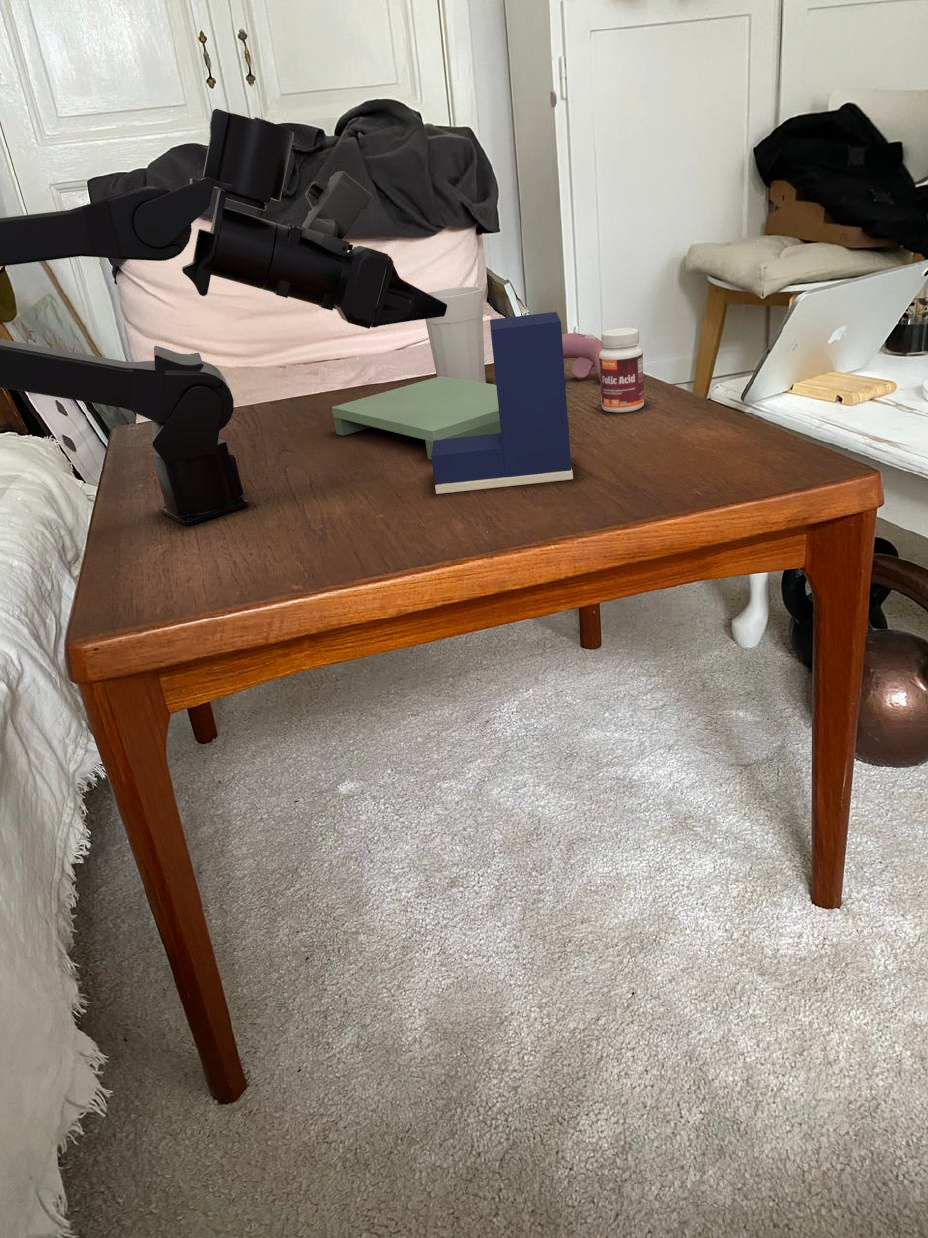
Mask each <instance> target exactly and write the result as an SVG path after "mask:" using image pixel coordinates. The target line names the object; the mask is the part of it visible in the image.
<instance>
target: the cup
mask: <svg viewBox="0 0 928 1238" xmlns="http://www.w3.org/2000/svg"><path fill="white" fill-rule="evenodd" d="M426 293H427V294H429V295H431V296H433V297H435V298H436V299H438V300H440V301H442V302H444V303H446V304H447V310H446V313H445V316H443V317H437V318H429V319H424V321H425V325H426V330H427V335H428V340H429V346H430V350H431V354H432V359H433V364H434V369H435V375H436V377H439V376H444V377H450V378H457V379H463V380H469V381H475V382H481V383H487V380H486V370H485V366H486V365H485V340H484V339H485V338H484V337H485V336H484V289H483V287H481V286H460V287H458V286H457V287H450V288H442V289H437V290H433V291H429V292H426Z"/></svg>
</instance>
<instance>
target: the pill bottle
mask: <svg viewBox="0 0 928 1238" xmlns="http://www.w3.org/2000/svg"><path fill="white" fill-rule="evenodd" d="M600 335H601V340H600V341H601V343H602V346H603V347H604V349H603V350H602V351H601V352H600V354H599V363H600V380H599V384H600V400H601V404H600V405H601V409H602V410H603V411H604V412H607V413H617V414H618V413H623V414H624V413H630V412H635V411H638V410H640V409H641V408H643V407H644V405H645V389H644V387H645V385H644V382H645V381H644V352H643V349H642V348H641V347H640V346H638V345H639V343H640V332H639V329H638V328H634V327H617V328H611V329H607V330H604V331H602V332H601V334H600Z"/></svg>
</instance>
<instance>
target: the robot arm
mask: <svg viewBox="0 0 928 1238" xmlns="http://www.w3.org/2000/svg"><path fill="white" fill-rule="evenodd" d="M210 115H211V116H210V120H209V140H208V146H207V151H206V157H205V162H204V167H203V168H204V169H203V173H202V178H200V179H196V178H194V177H191V178H189V183H187V184H185V185H183V186H179V187H177V188H175V189H173V190H170V189H167V188H164V187H161V186H156V185H145V186H140V187H137V188H134V189H131V190H128V191H125V192H122V193H119V194H115V195H112V196H109V197H105V198H103V199H100V200H96V201H93V202H90V203H87V204H84V205H81V206H77V207H74V208H71V209H64V210H56V211H47V212H38V213H30V214H23V215H22V214H21V215H14V216H13V215H12V216H5V217H0V267H1V268H2V267H9V266H17V265H23V264H33V263H39V262H48V261H54V260H65V259H71V258H79V257H85V258H100V259H101V258H102V259H114V260H129V261H151V262H164V261H166V262H167V261H169V260H172V259H175V258H176V257H178V256H180V255H181V254H182V253H183V252H184V251H185V249H186V247H187V246H188V244H189V243H190V239H191V236H192V232H193V231H192V230H193V229H192V227H193V226H192V224H193V223H194V222H195V221H196V220H197V219H198V218H199V217H201V215H202V214H203V213H205V211H207V209H209V207H210V206H211V202H212V195H213V192H214V191H213V190H214V188H215V189H216V190H217V196H216V202H215V207H214V212H213V217H212V221H211V226H210V230H206V229H202V228H198V231H197V235H196V241H195V247H194V252H193V258H192V261H191V262H190V263H188V264H186V265H183V266H182V267H181V271H182V273H183V274H184V275H185V276H186V277H187V278H188V279H189V280H190V281H191V282H192V283H193V285H194V286H195V288H196V290H197V293H198V294H199V296H201V297H206V296H207V295H208V293H209V288H210V283H211V277H212V276H213V277H218V278H221V279H224V280H227V281H231V282H234V283H239V284H241V285H245V286H250V287H252V288H256V289H260V290H263V291H266V292H270V293H272V294H274V295H275V296H279V297H283V298H286V299H288V298H291V299H295V300H298V301H301V302H305V303H309V304H312V305H316V306H318V307H320V308H321V309H324V310H329V311H331V312H333V311H334V310H336V312H337V313H338V315H339V316H340V318H341V320H343V321H345V322H347V323H348V324H351V325H355V326H358V327H361V328H364V329H371V328H373V329H374V328H378V327H381V326H382V327H383V326H389V325H394V324H400V323H401V324H402V323H407V322H415V321H422V320H425V319H429V318H437V317H443V316H445V313H446V310H447V304H446V303H444V302H442V301H440V300H438V299H436V298H435V297H433V296H431V295H429V294H427V293H428V292H426V291H424V290H422V289H421V288H418V287H416V286H414V285H413V284H411V283H409V282H408V281H406V280H404V279H402V278H401V277H400V276H399V273H398V271H397V269H396V267H395V264H394V260H393V258H392V257H391V256H390V255H389V253H386V252H383V251H380V250H376V249H373V248H371V247H367V246H363V245H357V246H354V244H351V242H350V241H348V240H345V239H344V238H345V236H346V235H347V234H348V233H349V230H351V227H352V226H353V225H354V223H355V221H356V220H357V218H358V217H359V215H360V213H361V212H362V211H363V210H365V209H366V208H367V207H368V206H369V203H370V202H371V200H372V198H373V194H372V193H371V192H370V191H368V190H367V189H366V188H365V187H364V186H363V185H361V184H360V183H359V182H357V181H356V180H355V179H354V178H353V177H351V176H350V175H349V174H348V173H347V172H345V171H344V170H341V171H340V170H339V171H336V172H335V173H334V174H332V175H330V177H329V179H328V180H329V181H328V182H327V183H326V182H322V181H312V182H311V184H310V185H309V187H308V188H307V190H306V192H305V194H304V196H305V199H306V200H307V202H308V204H309V207H310V208H311V209H310V210H309V211H308V212H307V217H306V219H305V220H304V221H303V223H302V224H301V226H300V225H297V224H292V223H288V224H287V225H283V224H280V223H277V222H274V221H271V220H267V219H264V218H261V217H257V216H255V215H250V214H248V213H245V212H242V211H238V210H234V209H232V208H229V207H226V206H225V204H226V200H229V201H231V202H234V203H237V204H241V205H245V206H248V207H250V208H254V209H257V210H261V211H264V212H266V211H267V208H268V205H271V200H273V201H275V202H281V198H282V195H283V190H284V189H283V188H284V185H285V181H286V176H287V171H288V166H289V161H290V155H291V151H292V146H293V142H294V137H295V133H294V131H292V130H291V129H288V128H286V127H283V126H282V125H279V124H276V123H274V122H271V121H269V120H266V119H264V118H260V117H257V116H255V117H254V118H251V117H248V116H244V115H241V114H237V113H233V112H228V111H225V110H222V109H219V108H215V109H212V111H211V114H210ZM153 358H154V359H153V360H141V361H125V360H124V361H123V360H120V359H119V360H118V359H114V358H110V357H109V358H108V357H104V356H103V357H102V356H98V355H91V354H86V353H81V352H75V351H69V350H65V349H59V348H55V347H54V348H53V347H48V346H42V345H37V344H32V343H28V342H27V343H25V342H20V341H15V340H9V339H4V338H0V389H7V390H11V391H17V392H19V391H20V392H25V393H29V394H36V395H43V396H47V397H53V398H60V399H66V400H71V401H79V402H84V403H91V404H95V405H96V404H97V405H102V406H108V407H114V408H121V409H125V410H127V411H130V412H132V413H134V414H137V415H138V416H141V417H143V418H146V419H148V420H149V421H151V442H152V443H151V444H152V448H153V449H154V450H155V452H153V453H151V458H152V461H153V464H154V468H155V472H156V476H157V479H158V483H159V487H160V491H161V494H162V498H163V502H164V505H163V506H161V507H160V508H159V509H160V513H161V514H163V515H165V516H167V517H168V518H171V519H172V520H174V521H175V522H178V523H180V524H181V525H183V526H190V525H194V524H198V523H200V522H203V521H206V520H210V519H212V518H215V517H219V516H222V515H225V514H228V513H230V512H233V511H236V510H240V509H243V508H246V507H248V506H249V503H248V500H247V499H245V498H243V495H244V489H243V486H242V480H241V476H240V472H239V468H238V465H237V459H236V455H234V454H233V453H231V452H230V451H229V447H228V443H227V441H226V440H224V439H221V438H220V431H221V430H222V429H224V428H225V427H226V426H227V425H228V423H230V421H231V420H232V417H233V414H234V410H235V406H234V401H235V400H234V396H233V394H232V391H231V388H230V387H229V384H228V381H227V378H226V377H225V376H224V374H223V373H222V372H221V371H220V370H219V369H218V367H217V366H215V365H213V364H212V363H209V362H207V361H204V360H203V359H202V356H201V354H200V352H193V353H180V352H176V351H173V350H171V349H169V348H165V347H161V346H159V345H154V347H153Z"/></svg>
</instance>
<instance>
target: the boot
mask: <svg viewBox="0 0 928 1238" xmlns="http://www.w3.org/2000/svg"><path fill="white" fill-rule="evenodd" d="M489 326H490V327H489V328H490V337H491V346H492V356H493V367H494V376H495V377H494V379H495V385H496V388H497V398H498V407H499V417H500V427H501V433H496V434H487V435H478V436H469V437H460V438H452V439H443V440H434V441H433V448H432V455H431V458H432V460H431V462H432V463H431V465H432V473H433V478H434V485H435V486H434V488H435V494H436V495H440V494H449V493H451V494H452V493H459V492H468V491H478V490H487V489H488V490H489V489H496V488H504V487H505V488H506V487H513V486H522V485H523V486H524V485H532V484H544V483H552V482H560V481H561V482H562V481H570V480H574V472H573V468H572V459H571V446H570V445H571V444H570V430H569V416H568V402H567V390H566V389H567V388H566V371H565V372H564V368H565V359H564V358H563V343H562V334H563V331H562V321H561V319H560V316H559V314H558V313H557V311H550V312H542V313H535V314H526V315H517V316H510V317H502V318H493V319H492V318H491V319H489Z"/></svg>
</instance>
